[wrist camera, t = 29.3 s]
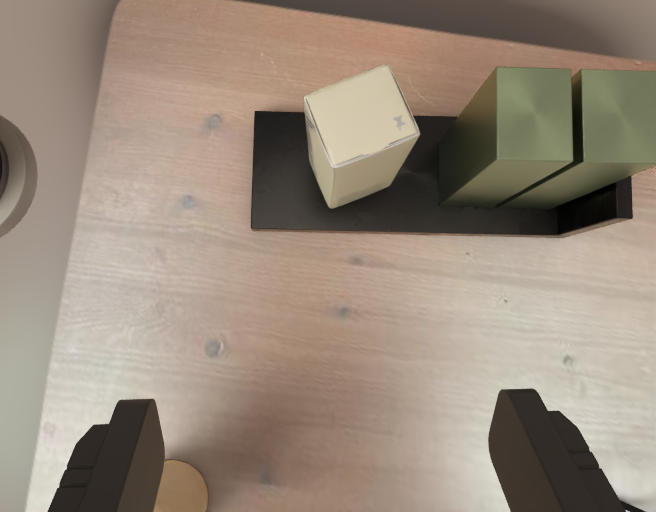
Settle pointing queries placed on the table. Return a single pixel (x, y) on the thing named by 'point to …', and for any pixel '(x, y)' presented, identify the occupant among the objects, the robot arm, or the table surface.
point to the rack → (482, 162)
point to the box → (358, 134)
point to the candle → (181, 489)
